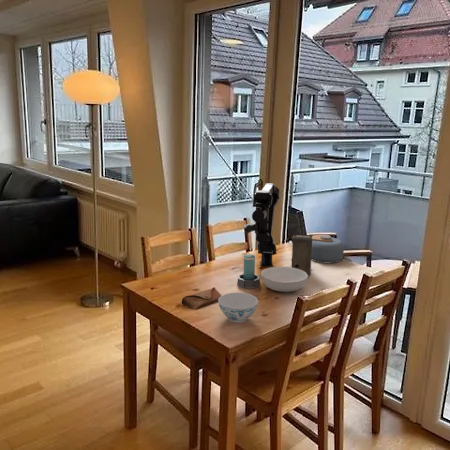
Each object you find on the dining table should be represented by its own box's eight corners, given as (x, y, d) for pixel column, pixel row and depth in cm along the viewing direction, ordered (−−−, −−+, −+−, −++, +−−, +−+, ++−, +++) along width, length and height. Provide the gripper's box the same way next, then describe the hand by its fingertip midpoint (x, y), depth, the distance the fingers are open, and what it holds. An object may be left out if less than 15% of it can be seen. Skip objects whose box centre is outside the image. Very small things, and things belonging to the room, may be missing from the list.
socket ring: (237, 279, 213) (237, 272, 212) (259, 280, 212) (259, 273, 212) (237, 288, 203) (237, 280, 202) (260, 288, 202) (260, 281, 202)
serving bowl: (313, 285, 207) (314, 271, 205) (296, 301, 190) (296, 285, 188) (272, 276, 218) (273, 263, 216) (252, 290, 200) (252, 276, 198)
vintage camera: (308, 266, 233) (309, 229, 229) (311, 276, 218) (312, 236, 214) (289, 266, 234) (290, 228, 230) (290, 275, 219) (292, 235, 215)
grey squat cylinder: (323, 250, 260) (324, 229, 257) (350, 259, 244) (352, 238, 241) (298, 255, 250) (299, 234, 247) (325, 265, 234) (327, 243, 231)
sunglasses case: (194, 310, 179) (189, 294, 180) (185, 314, 184) (179, 298, 185) (227, 298, 191) (222, 283, 192) (217, 302, 196) (212, 287, 197)
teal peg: (242, 280, 210) (243, 254, 207) (254, 281, 210) (255, 254, 207) (243, 285, 205) (243, 257, 202) (254, 285, 205) (255, 258, 202)
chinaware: (233, 331, 163) (234, 312, 161) (210, 316, 174) (210, 298, 172) (265, 321, 171) (266, 302, 169) (241, 307, 183) (241, 289, 181)
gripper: (244, 213, 221) (243, 243, 225) (245, 222, 203) (244, 255, 207) (267, 213, 221) (266, 244, 225) (270, 222, 203) (268, 255, 207)
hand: (261, 249), depth 216 cm, fingers open, 9 cm apart
